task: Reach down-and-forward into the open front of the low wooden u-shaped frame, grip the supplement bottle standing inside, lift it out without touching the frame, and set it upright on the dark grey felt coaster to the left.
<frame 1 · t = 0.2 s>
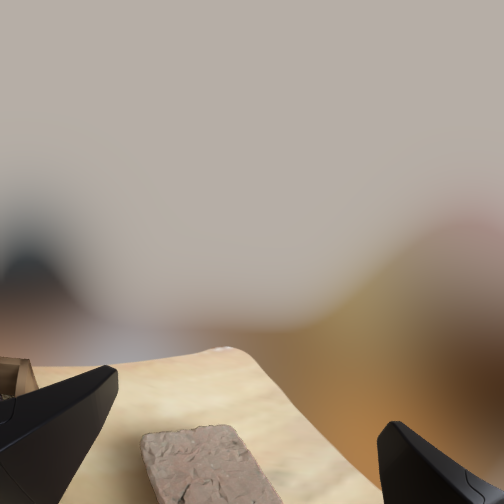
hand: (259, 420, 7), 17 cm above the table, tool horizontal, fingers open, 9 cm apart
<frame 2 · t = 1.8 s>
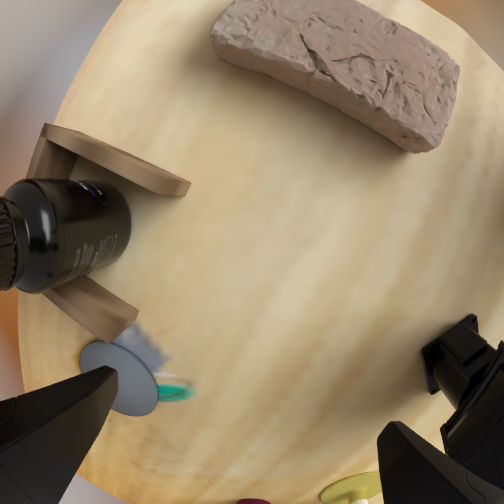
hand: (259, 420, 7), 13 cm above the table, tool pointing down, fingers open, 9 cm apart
brick: (334, 64, 16), on the table
supplement bottle: (101, 222, 20), on the table
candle: (355, 488, 24), on the table
wooden u-shaped frame: (99, 222, 20), on the table
cup: (254, 503, 26), on the table
coaster: (117, 379, 23), on the table
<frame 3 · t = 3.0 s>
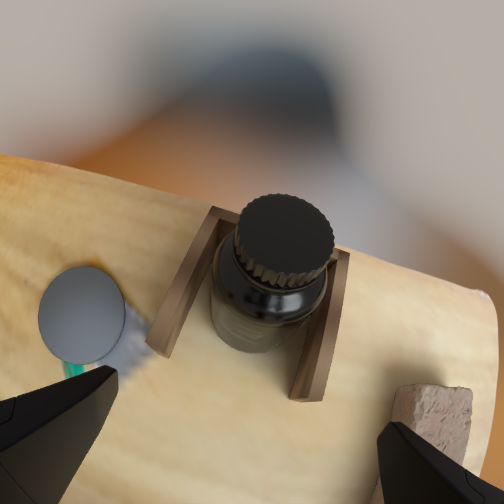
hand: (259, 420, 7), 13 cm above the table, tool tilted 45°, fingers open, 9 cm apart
brick: (407, 465, 17), on the table
supplement bottle: (251, 315, 23), on the table
wooden u-shaped frame: (252, 314, 23), on the table
coaster: (79, 314, 20), on the table
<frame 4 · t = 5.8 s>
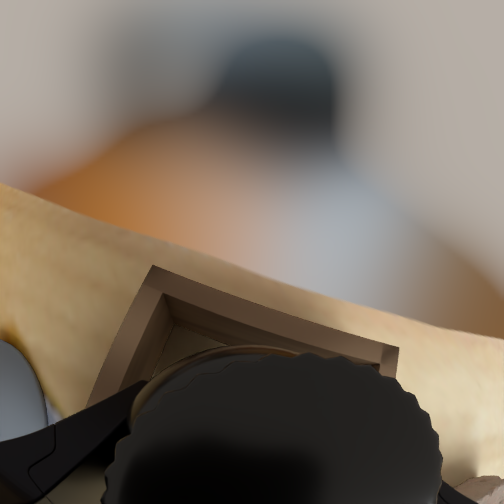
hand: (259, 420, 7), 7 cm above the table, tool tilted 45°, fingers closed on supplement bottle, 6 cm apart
supplement bottle: (229, 437, 12), on the table, touching gripper
wooden u-shaped frame: (229, 437, 12), on the table
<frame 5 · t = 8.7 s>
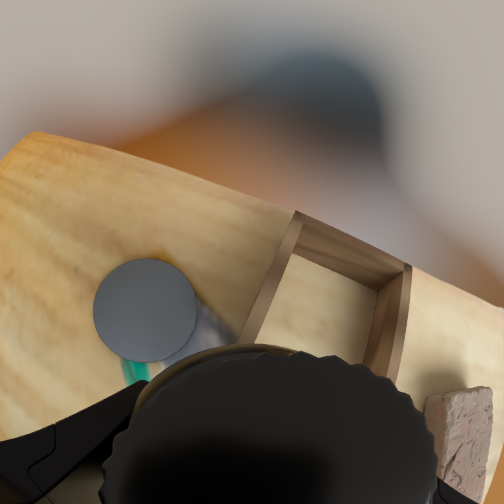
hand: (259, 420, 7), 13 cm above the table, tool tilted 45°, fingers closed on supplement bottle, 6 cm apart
brick: (439, 462, 16), on the table
supplement bottle: (234, 435, 12), point 6 cm above the table, touching gripper
wooden u-shaped frame: (322, 317, 23), on the table
coaster: (144, 309, 21), on the table
when the fingers open (8 cm above the table, at t = 11.4 s): supplement bottle stays where it is, resting on coaster.
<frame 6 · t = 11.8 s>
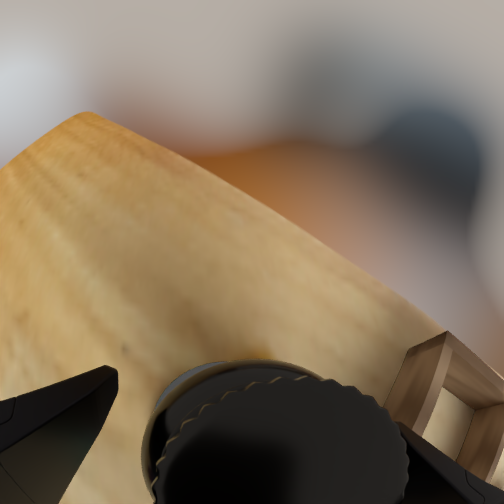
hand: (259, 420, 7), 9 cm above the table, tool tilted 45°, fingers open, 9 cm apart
supplement bottle: (233, 435, 13), resting on coaster
wooden u-shaped frame: (426, 444, 13), on the table
coaster: (229, 433, 13), on the table
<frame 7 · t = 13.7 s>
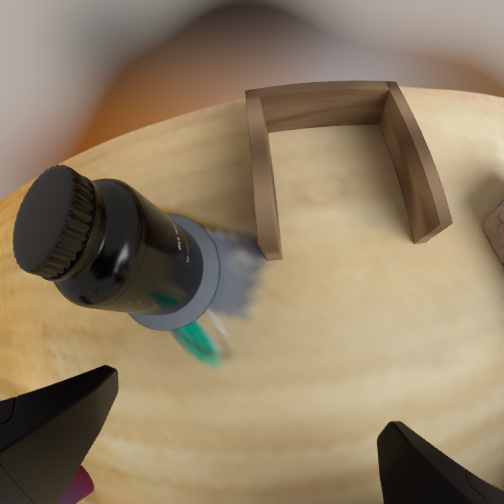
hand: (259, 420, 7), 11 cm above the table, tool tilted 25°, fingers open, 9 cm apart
supplement bottle: (165, 270, 20), resting on coaster
wooden u-shaped frame: (338, 175, 20), on the table
cup: (78, 474, 18), on the table
coaster: (164, 271, 21), on the table
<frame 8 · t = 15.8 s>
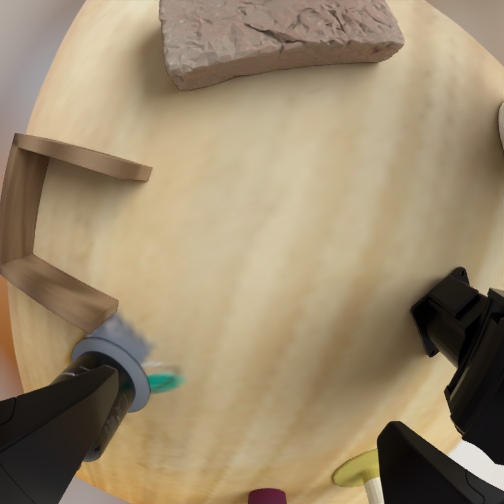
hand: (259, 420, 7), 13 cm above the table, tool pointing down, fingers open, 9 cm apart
brick: (276, 34, 16), on the table
supplement bottle: (107, 376, 22), resting on coaster
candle: (368, 467, 25), on the table
wooden u-shaped frame: (73, 220, 19), on the table
cup: (267, 494, 26), on the table
coaster: (109, 376, 22), on the table
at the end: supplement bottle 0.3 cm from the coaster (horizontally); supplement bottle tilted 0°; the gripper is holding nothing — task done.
